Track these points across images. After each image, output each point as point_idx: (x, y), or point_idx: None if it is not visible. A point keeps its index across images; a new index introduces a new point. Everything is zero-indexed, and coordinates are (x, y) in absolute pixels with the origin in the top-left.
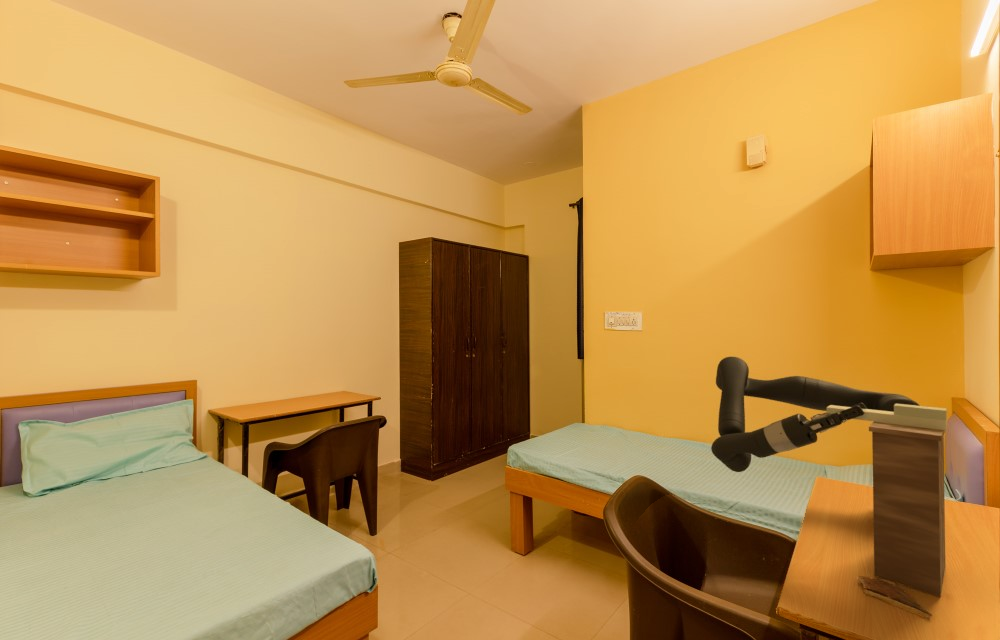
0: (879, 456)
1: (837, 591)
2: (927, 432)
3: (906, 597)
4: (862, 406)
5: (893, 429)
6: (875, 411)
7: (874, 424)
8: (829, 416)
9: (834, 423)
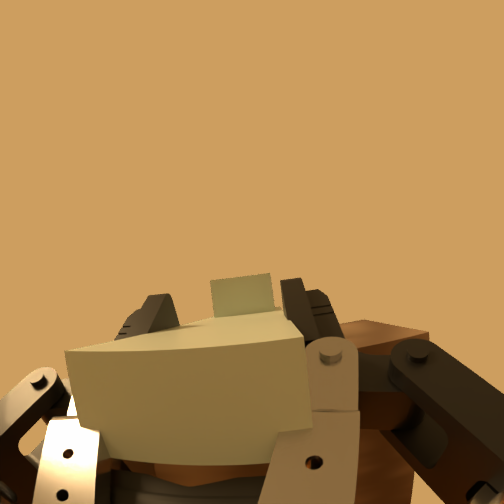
0: None
1: None
2: (348, 325)
3: None
4: (172, 313)
5: (393, 327)
6: (242, 317)
7: (364, 344)
8: (459, 368)
9: (407, 437)
